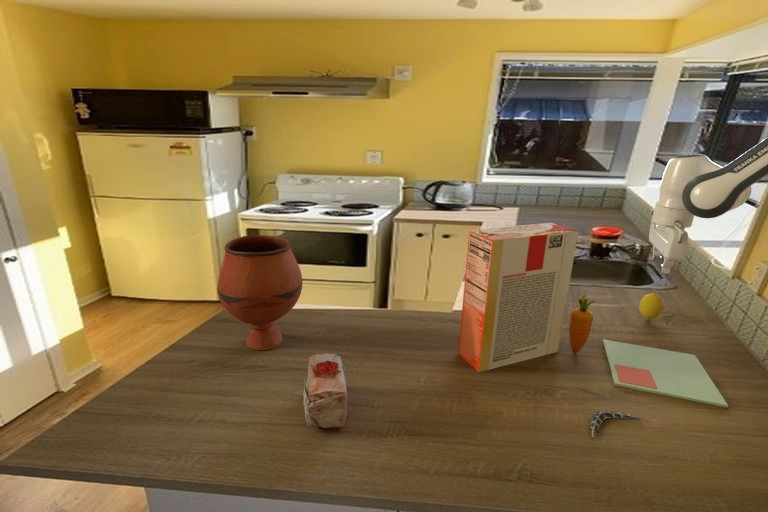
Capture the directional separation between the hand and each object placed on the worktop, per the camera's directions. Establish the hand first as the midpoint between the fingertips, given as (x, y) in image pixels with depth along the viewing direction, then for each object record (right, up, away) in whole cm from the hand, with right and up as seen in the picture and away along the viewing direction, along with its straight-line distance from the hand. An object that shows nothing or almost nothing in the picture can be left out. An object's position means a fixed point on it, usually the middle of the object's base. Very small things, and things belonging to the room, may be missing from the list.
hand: (659, 267), depth 115 cm
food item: (-86, -26, -35) cm, 97 cm away
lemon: (0, -15, +5) cm, 16 cm away
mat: (-14, -23, -20) cm, 33 cm away
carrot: (-29, -20, -14) cm, 38 cm away
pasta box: (-45, -20, -14) cm, 52 cm away
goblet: (-104, -18, -12) cm, 106 cm away
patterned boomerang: (-34, -28, -37) cm, 57 cm away
